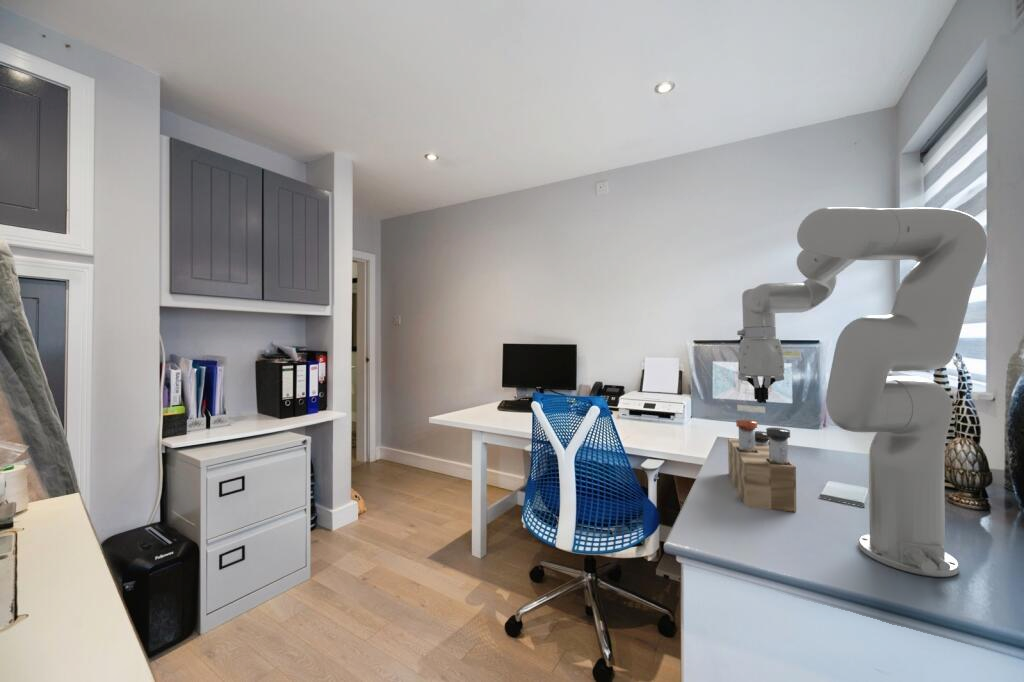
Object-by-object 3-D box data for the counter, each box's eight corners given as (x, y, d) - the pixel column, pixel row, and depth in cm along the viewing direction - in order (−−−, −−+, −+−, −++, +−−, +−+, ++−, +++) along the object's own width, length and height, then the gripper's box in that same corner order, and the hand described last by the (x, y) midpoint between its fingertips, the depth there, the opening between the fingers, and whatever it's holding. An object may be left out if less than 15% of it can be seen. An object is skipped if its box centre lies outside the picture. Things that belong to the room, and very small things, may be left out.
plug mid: (759, 471, 102) (758, 423, 102) (738, 469, 103) (738, 422, 103) (755, 465, 106) (754, 419, 106) (735, 464, 108) (734, 418, 108)
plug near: (793, 485, 92) (792, 432, 92) (769, 483, 93) (769, 431, 93) (787, 479, 96) (786, 428, 96) (764, 477, 98) (764, 427, 98)
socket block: (796, 512, 91) (795, 466, 91) (745, 506, 94) (744, 462, 94) (769, 477, 114) (768, 440, 114) (728, 473, 117) (728, 438, 117)
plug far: (772, 480, 109) (772, 435, 109) (753, 478, 110) (752, 434, 110) (768, 475, 113) (767, 431, 113) (749, 473, 115) (748, 430, 115)
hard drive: (864, 502, 93) (868, 487, 102) (819, 493, 99) (827, 479, 108) (864, 510, 93) (868, 493, 102) (819, 500, 99) (827, 486, 108)
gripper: (730, 334, 110) (732, 403, 110) (796, 332, 105) (798, 405, 105) (726, 335, 117) (728, 400, 117) (787, 333, 112) (789, 401, 112)
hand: (761, 402), depth 111 cm, fingers closed
